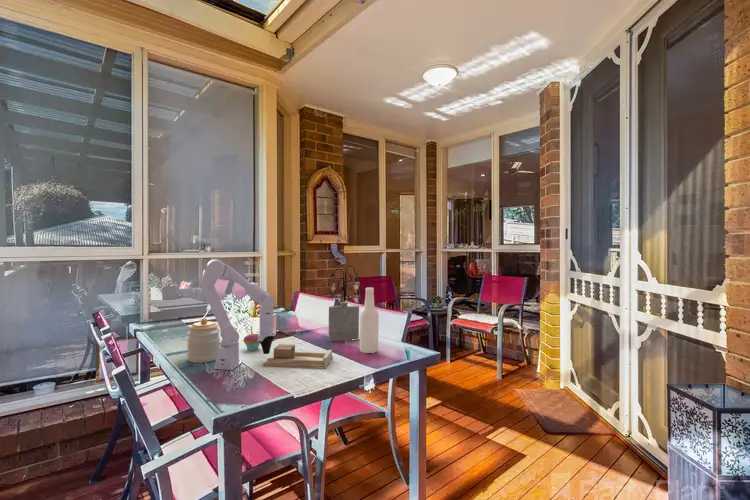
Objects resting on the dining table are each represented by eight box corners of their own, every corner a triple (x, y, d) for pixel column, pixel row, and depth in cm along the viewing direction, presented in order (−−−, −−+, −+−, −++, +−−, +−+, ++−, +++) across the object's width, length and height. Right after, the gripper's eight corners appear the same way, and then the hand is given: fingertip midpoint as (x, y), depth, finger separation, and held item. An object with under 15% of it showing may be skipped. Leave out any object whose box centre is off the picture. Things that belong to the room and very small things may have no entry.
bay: (325, 368, 149) (325, 358, 149) (263, 365, 151) (263, 356, 151) (332, 357, 163) (332, 348, 163) (275, 355, 165) (275, 346, 165)
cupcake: (258, 352, 170) (258, 326, 170) (240, 351, 170) (240, 325, 170) (264, 346, 179) (264, 322, 178) (247, 346, 179) (247, 321, 179)
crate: (289, 361, 154) (289, 349, 154) (273, 360, 155) (273, 348, 154) (294, 356, 161) (294, 344, 161) (279, 355, 162) (279, 344, 161)
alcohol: (355, 350, 175) (356, 287, 174) (370, 347, 180) (371, 286, 179) (366, 355, 168) (367, 289, 167) (381, 351, 173) (382, 288, 172)
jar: (207, 364, 152) (207, 322, 152) (180, 362, 155) (180, 320, 154) (226, 355, 165) (226, 316, 164) (200, 353, 167) (200, 314, 167)
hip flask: (358, 338, 197) (358, 301, 196) (359, 340, 193) (359, 302, 192) (328, 339, 193) (328, 301, 193) (329, 341, 189) (329, 302, 189)
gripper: (269, 326, 151) (269, 359, 151) (281, 318, 165) (281, 349, 165) (252, 325, 151) (252, 358, 151) (266, 318, 166) (265, 348, 166)
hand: (266, 353), depth 158 cm, fingers closed
